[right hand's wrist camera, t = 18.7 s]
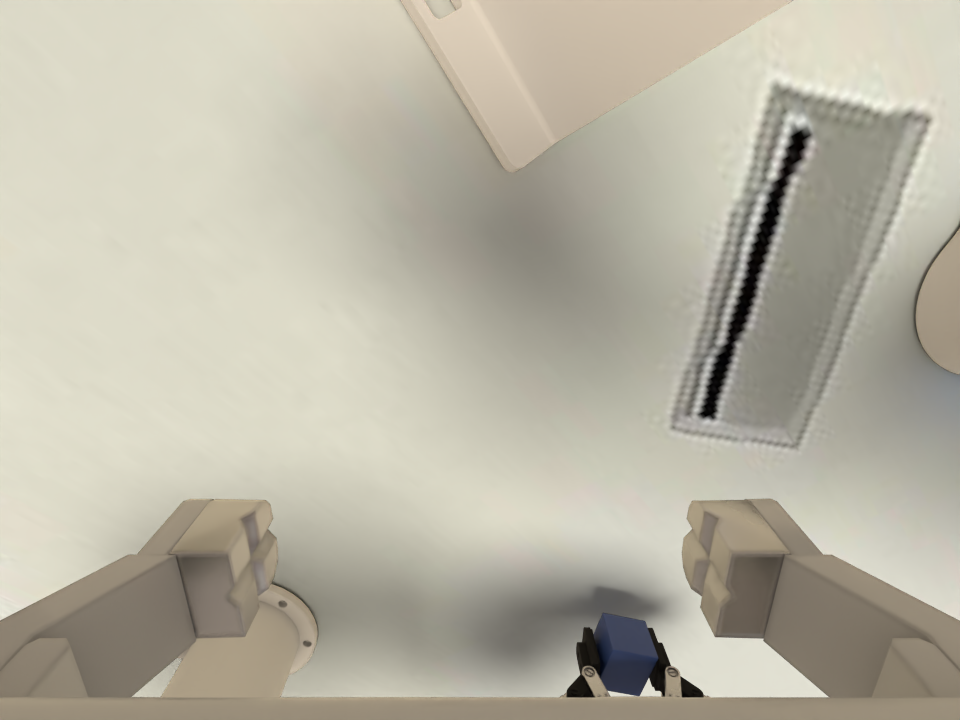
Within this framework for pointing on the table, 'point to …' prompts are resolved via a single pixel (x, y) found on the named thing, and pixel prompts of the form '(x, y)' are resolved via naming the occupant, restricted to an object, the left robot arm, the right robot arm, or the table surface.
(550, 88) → the tablet stand
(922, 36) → the table surface
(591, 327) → the table surface
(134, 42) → the table surface
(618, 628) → the block
